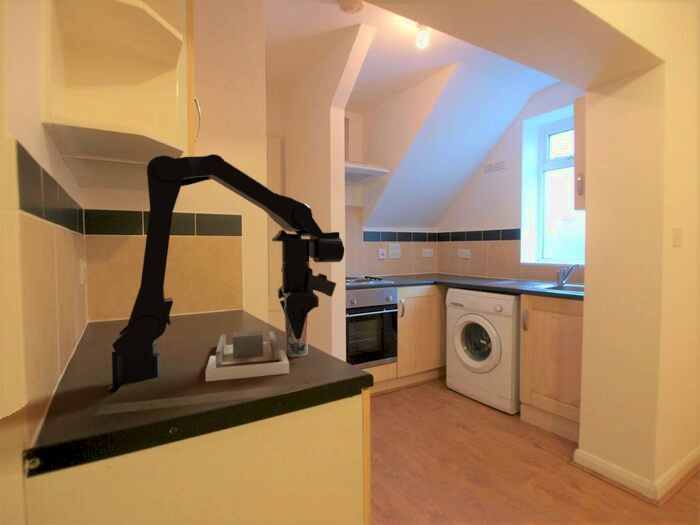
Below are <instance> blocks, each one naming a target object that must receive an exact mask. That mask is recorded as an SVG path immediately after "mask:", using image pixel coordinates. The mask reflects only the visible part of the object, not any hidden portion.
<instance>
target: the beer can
mask: <svg viewBox="0 0 700 525" xmlns="http://www.w3.org/2000/svg"><path fill="white" fill-rule="evenodd" d="M308 314H309V313H308ZM308 314H307V315H306V319H305V323H304V327H303V332H302V336H301V338H300V339H296V338H295V336H294V333H293V330H292V328H291V325H290V322H289V320H288V317H287V315H286V312H285V314H284V335H285V336H284V337H285V338H284V342H285V343H284V347H285V348H284V351H285V354H286V356H287V357H291V358H298V357H299V358H300V357H305V356H307V355H308V353H309V352H308V351H309V348H308V346H309V345H308V343H309V339H308V338H309V336H308V335H309V334H308V329H309V328H308V326H309V324H308V323H309V322H308V321H309V320H308V319H309V318H308Z"/></svg>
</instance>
